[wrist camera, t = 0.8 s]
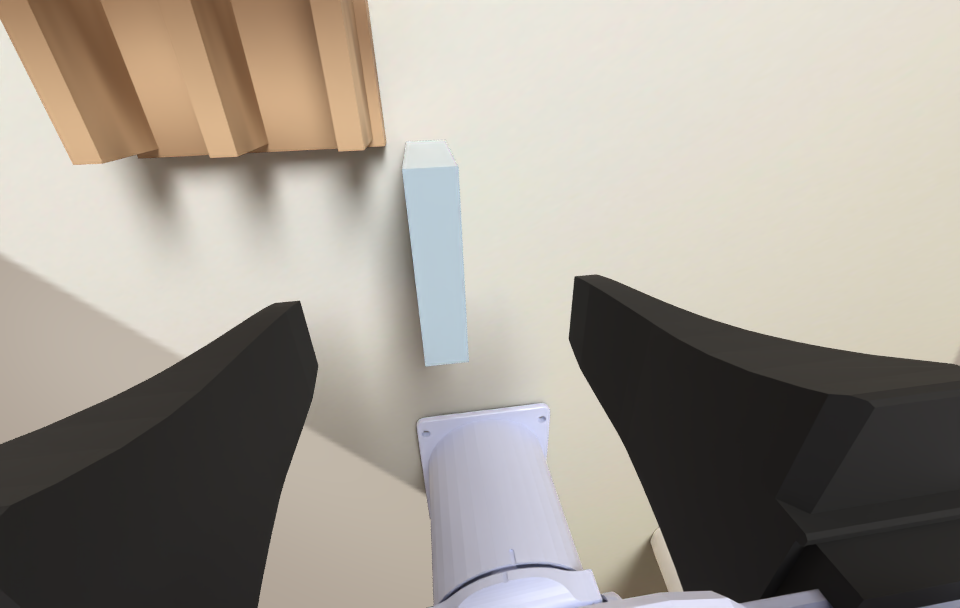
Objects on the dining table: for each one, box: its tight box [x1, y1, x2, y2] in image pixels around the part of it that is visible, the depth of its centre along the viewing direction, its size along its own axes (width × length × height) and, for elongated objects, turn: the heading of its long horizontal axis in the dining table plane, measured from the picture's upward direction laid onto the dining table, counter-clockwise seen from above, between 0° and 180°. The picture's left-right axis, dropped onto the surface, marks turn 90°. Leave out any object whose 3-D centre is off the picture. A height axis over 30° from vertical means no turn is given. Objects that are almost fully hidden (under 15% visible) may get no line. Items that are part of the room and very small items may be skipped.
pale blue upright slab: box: [402, 140, 469, 366], centre depth 16 cm, size 7×2×6 cm, turn 2°
